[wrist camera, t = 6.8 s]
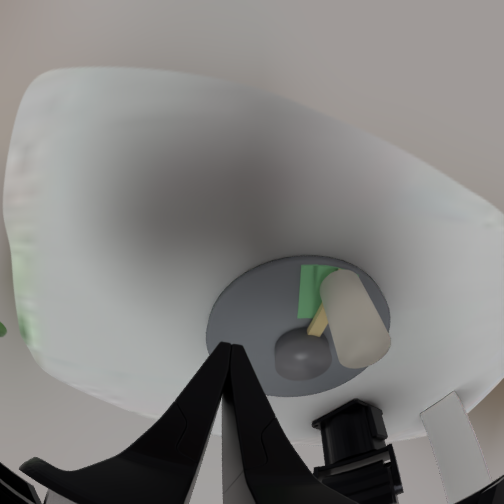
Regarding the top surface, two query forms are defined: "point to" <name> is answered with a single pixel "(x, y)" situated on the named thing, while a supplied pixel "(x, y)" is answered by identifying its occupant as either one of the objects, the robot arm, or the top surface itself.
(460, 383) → the top surface
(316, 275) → the grey round disc
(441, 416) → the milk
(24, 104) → the top surface
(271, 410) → the robot arm
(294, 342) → the peg
